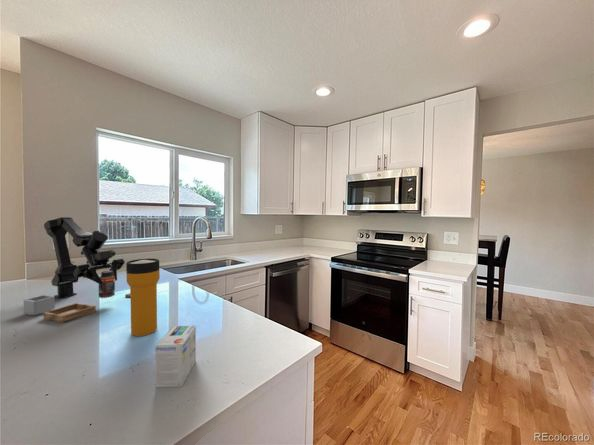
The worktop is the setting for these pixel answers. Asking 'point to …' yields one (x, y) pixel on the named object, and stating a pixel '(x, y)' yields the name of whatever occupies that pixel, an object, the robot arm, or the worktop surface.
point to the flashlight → (143, 294)
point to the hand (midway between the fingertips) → (108, 281)
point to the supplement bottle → (107, 284)
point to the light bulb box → (175, 356)
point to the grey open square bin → (39, 304)
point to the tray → (69, 312)
